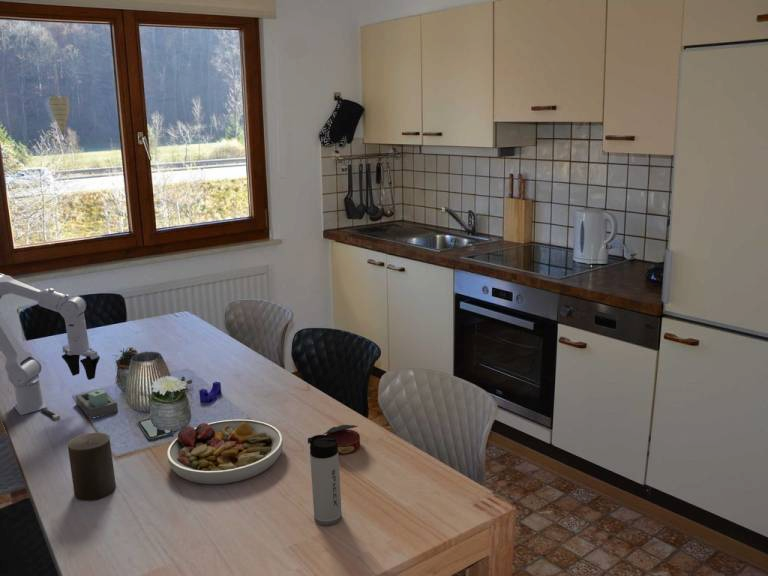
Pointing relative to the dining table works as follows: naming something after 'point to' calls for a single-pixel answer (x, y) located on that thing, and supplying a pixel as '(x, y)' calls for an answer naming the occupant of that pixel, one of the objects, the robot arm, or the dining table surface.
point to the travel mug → (325, 479)
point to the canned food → (345, 439)
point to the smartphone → (153, 430)
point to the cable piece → (50, 414)
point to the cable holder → (210, 393)
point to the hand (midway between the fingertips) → (83, 376)
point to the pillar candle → (91, 466)
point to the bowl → (224, 451)
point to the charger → (98, 398)
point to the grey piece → (99, 410)
